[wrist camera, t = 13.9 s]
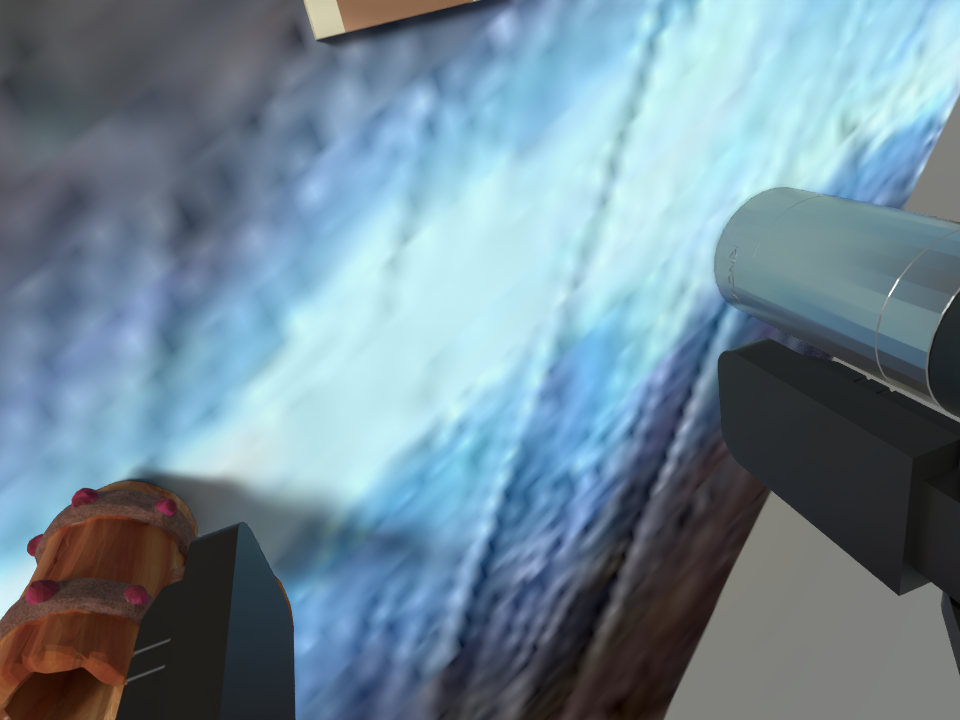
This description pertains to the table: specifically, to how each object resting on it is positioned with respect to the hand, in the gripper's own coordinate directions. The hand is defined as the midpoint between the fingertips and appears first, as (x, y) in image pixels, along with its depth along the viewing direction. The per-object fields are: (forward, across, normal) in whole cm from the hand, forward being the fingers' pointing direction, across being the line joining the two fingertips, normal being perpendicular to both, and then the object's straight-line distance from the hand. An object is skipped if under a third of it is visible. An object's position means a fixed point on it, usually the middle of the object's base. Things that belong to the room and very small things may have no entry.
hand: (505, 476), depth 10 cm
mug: (+30, +17, +17) cm, 39 cm away
